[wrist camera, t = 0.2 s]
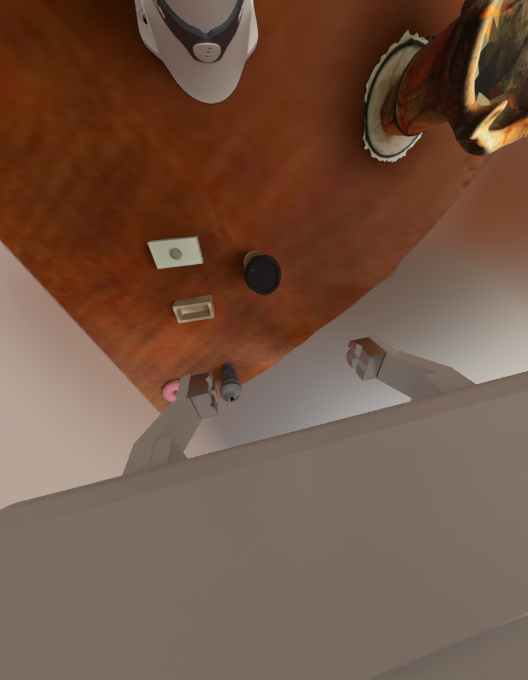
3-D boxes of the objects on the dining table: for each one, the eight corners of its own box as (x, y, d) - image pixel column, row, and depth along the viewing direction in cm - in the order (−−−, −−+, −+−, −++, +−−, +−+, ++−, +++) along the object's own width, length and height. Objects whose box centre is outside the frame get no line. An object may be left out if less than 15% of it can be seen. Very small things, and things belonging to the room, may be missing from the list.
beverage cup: (237, 373, 75) (243, 417, 59) (219, 374, 73) (219, 419, 57) (239, 359, 71) (245, 402, 55) (219, 359, 70) (219, 404, 53)
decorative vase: (349, 189, 47) (477, 155, 23) (358, 31, 34) (656, -389, 11) (424, 172, 48) (617, 123, 25) (460, 13, 35) (923, -394, 12)
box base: (175, 300, 54) (172, 307, 50) (210, 294, 55) (209, 301, 51) (181, 315, 57) (178, 323, 53) (214, 310, 58) (214, 317, 54)
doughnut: (176, 400, 77) (174, 409, 74) (156, 385, 71) (153, 394, 67) (199, 389, 76) (198, 398, 73) (181, 373, 70) (180, 381, 67)
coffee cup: (240, 278, 54) (246, 297, 42) (238, 245, 49) (244, 257, 37) (268, 276, 56) (282, 295, 43) (269, 245, 51) (285, 256, 39)
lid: (151, 240, 45) (146, 243, 41) (197, 235, 46) (195, 238, 43) (161, 265, 49) (156, 269, 45) (203, 260, 50) (202, 264, 46)
